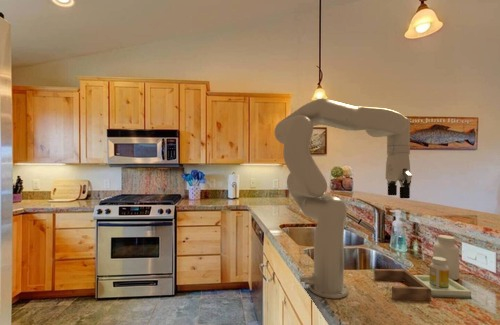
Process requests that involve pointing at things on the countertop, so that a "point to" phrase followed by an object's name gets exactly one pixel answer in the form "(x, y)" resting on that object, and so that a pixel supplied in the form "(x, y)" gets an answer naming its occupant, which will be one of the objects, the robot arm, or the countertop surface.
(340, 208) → the robot arm
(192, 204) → the countertop surface
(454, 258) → the pill bottle
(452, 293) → the tray
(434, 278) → the supplement bottle
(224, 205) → the countertop surface
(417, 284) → the bay
